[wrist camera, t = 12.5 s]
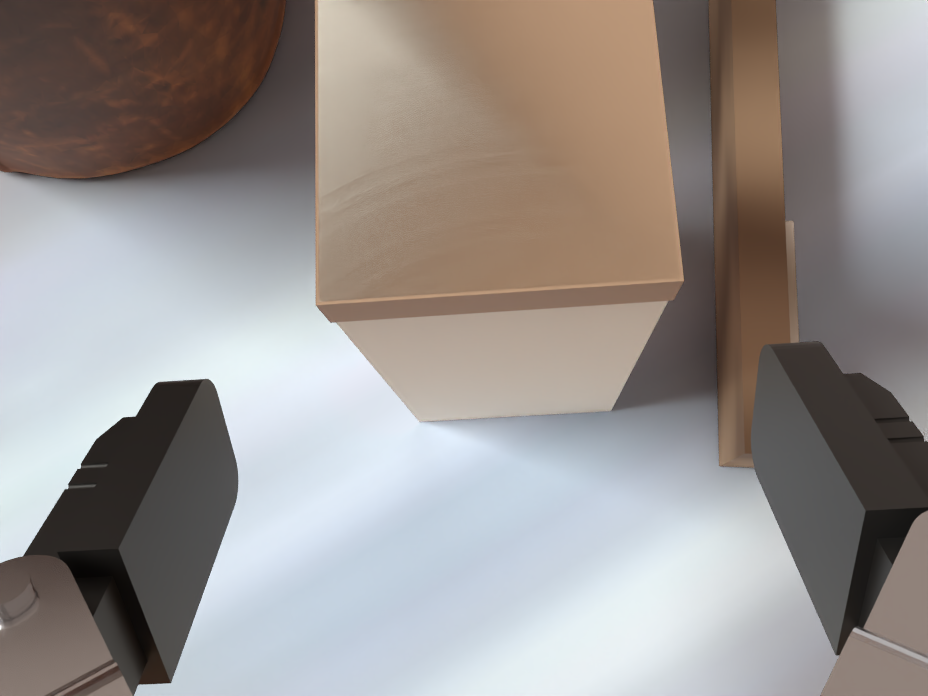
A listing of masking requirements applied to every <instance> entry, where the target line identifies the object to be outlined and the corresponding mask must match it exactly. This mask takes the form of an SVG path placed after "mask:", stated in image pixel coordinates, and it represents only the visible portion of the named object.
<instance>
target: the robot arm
mask: <svg viewBox="0 0 928 696" xmlns="http://www.w3.org/2000/svg"><path fill="white" fill-rule="evenodd" d="M923 437H924V436H923V435H922V433H921V432H920V431H919V429H918V428H917V427H916V425H915V424H914V423H913V421H911V422H910V421H909V416H908V415H907V413H906V412H905V411H904V409H903V408H902V407H901V405H900V404H899V403H898V401H897V400H896V399H895V397H894V396H893V395H892V393H891V392H889V391H888V390H886V389H885V388H883V387H881V386H880V385H878V384H877V383H875V382H874V381H872V380H871V379H869V378H867V377H866V376H864V375H863V374H861V373H855V374H843V373H842V372H841V370H840V369H839V367H838V366H837V364H836V363H835V361H834V360H833V358H832V357H831V355H830V354H829V352H828V351H827V350H826V348H825V347H824V345H823V344H822V343H821V342H818V341H812V342H797V343H781V344H767V345H764V346H763V348H762V350H761V352H760V357H759V364H758V373H757V382H756V391H755V400H754V410H753V419H752V428H751V451H752V458H753V464H754V468H755V471H756V474H757V477H758V479H759V481H760V484H761V486H762V488H763V491H764V493H765V495H766V497H767V500H768V502H769V504H770V507H771V509H772V511H773V513H774V516H775V518H776V520H777V523H778V525H779V527H780V529H781V532H782V534H783V536H784V538H785V541H786V543H787V545H788V548H789V550H790V552H791V554H792V557H793V559H794V561H795V564H796V566H797V568H798V570H799V573H800V575H801V577H802V579H803V582H804V584H805V586H806V589H807V591H808V593H809V595H810V598H811V600H812V602H813V605H814V607H815V609H816V611H817V614H818V616H819V618H820V620H821V623H822V625H823V627H824V630H825V632H826V634H827V636H828V639H829V641H830V643H831V646H832V648H833V650H834V652H835V655H840V656H839V658H838V660H837V662H836V664H835V666H834V668H833V670H832V672H831V675H830V677H829V679H828V681H827V683H826V685H825V687H824V689H823V691H822V693H821V695H820V696H928V442H927V441H925V442H924V438H923ZM68 485H69V488H68V489H65V490H64V492H63V493H62V495H61V497H60V498H59V500H58V501H57V503H56V505H55V506H54V508H53V509H52V511H51V512H50V514H49V516H48V517H47V519H46V520H45V522H44V524H43V525H42V527H41V528H40V530H39V532H38V533H37V535H36V536H35V538H34V540H33V541H32V543H31V544H30V546H29V548H28V549H27V551H26V552H25V554H24V556H23V557H18V558H14V559H11V560H8V561H5V562H2V563H0V696H134V694H135V691H136V689H137V686H138V685H140V684H162V683H171V681H172V679H173V676H174V673H175V670H176V667H177V665H178V662H179V659H180V656H181V654H182V651H183V648H184V645H185V642H186V640H187V637H188V634H189V631H190V628H191V626H192V623H193V620H194V617H195V615H196V612H197V609H198V606H199V603H200V601H201V598H202V595H203V592H204V589H205V587H206V584H207V581H208V578H209V576H210V573H211V570H212V567H213V564H214V562H215V559H216V556H217V553H218V550H219V548H220V545H221V542H222V539H223V537H224V534H225V531H226V528H227V525H228V523H229V520H230V517H231V514H232V511H233V509H234V506H235V503H236V499H237V493H238V470H237V463H236V459H235V455H234V452H233V448H232V444H231V441H230V437H229V434H228V430H227V426H226V423H225V419H224V415H223V412H222V408H221V405H220V401H219V397H218V394H217V391H216V388H215V386H214V384H213V383H212V382H211V381H210V380H209V379H199V380H184V381H168V382H158V383H156V384H155V385H154V387H153V388H152V390H151V391H150V393H149V395H148V397H147V398H146V400H145V402H144V403H143V405H142V407H141V409H140V410H139V412H138V414H137V415H136V417H123V418H122V419H121V420H120V421H118V422H117V423H116V424H115V425H113V426H112V427H111V428H110V429H109V430H107V431H106V432H105V433H104V434H102V435H101V436H100V437H99V438H98V439H96V441H95V442H94V444H93V445H92V447H91V449H90V450H89V452H88V453H87V455H86V457H85V458H84V460H83V461H82V463H81V469H77V471H76V473H75V474H74V476H73V477H72V479H71V481H70V482H69V484H68Z"/></svg>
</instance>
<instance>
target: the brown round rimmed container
mask: <svg viewBox="0 0 928 696" xmlns="http://www.w3.org/2000/svg"><path fill="white" fill-rule="evenodd" d="M285 5H286V0H0V171H3V172H15V171H16V172H24V173H29V174H34V175H40V176H46V177H55V178H92V177H100V176H107V175H113V174H117V173H122V172H126V171H130V170H133V169H137V168H141V167H144V166H147V165H151V164H154V163H157V162H159V161H162V160H165V159H167V158H170V157H172V156H175V155H177V154H179V153H182V152H184V151H186V150H188V149H190V148H192V147H194V146H195V145H197V144H199V143H200V142H202V141H204V140H205V139H207V138H208V137H210V136H211V135H212V134H214V133H215V132H216V131H217V130H219V129H220V128H221V127H223V126H224V125H225V124H226V123H227V122H229V121H230V120H231V119H232V118H233V117H234V116H235V115H236V114H237V113H238V112H239V111H240V109H241V108H242V107H243V106H244V105H245V104H246V103H247V102H248V100H249V99H250V98H251V97H252V96H253V94H254V93H255V92H256V90H257V89H258V87H259V86H260V84H261V82H262V81H263V79H264V77H265V75H266V73H267V71H268V69H269V66H270V64H271V62H272V59H273V56H274V54H275V51H276V47H277V44H278V41H279V37H280V34H281V29H282V25H283V19H284V13H285Z"/></svg>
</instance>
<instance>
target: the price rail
mask: <svg viewBox="0 0 928 696" xmlns="http://www.w3.org/2000/svg"><path fill="white" fill-rule="evenodd" d="M708 1H709V44H710V88H711V131H712V175H713V218H714V262H715V305H716V349H717V392H718V436H719V466H725V467H752V468H754V464H753V458H752V451H751V428H752V419H753V410H754V400H755V391H756V382H757V373H758V364H759V357H760V352H761V350H762V348H763V346H764V345H767V344H781V343H797V342H799V328H798V306H797V284H796V263H795V241H794V221H785V204H784V181H783V158H782V136H781V113H780V90H779V67H778V44H777V22H776V0H708Z"/></svg>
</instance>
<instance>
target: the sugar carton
mask: <svg viewBox="0 0 928 696" xmlns="http://www.w3.org/2000/svg"><path fill="white" fill-rule="evenodd" d="M315 205H316V306H317V307H318V309H319V310H320V311H321V312H322V313H323V314H324V315H325V317H326V318H327V319H328V320H329V321H330V322H331V323H332V322H336V323H337V324H338V325H339V327H340V328H341V329H342V330H343V331H344V332H345V334H346V335H347V336H348V337H349V338H350V340H351V341H352V342H353V343H354V344H355V346H356V347H357V348H358V349H359V350H360V352H361V353H362V354H363V355H364V356H365V358H366V359H367V360H368V361H369V362H370V364H371V365H372V366H373V367H374V368H375V369H376V371H377V372H378V373H379V374H380V375H381V377H382V378H383V379H384V380H385V381H386V383H387V384H388V385H389V386H390V387H391V389H392V390H393V391H394V392H395V393H396V395H397V396H398V397H399V398H400V399H401V400H402V402H403V403H404V404H405V405H406V406H407V408H408V409H409V410H410V411H411V412H412V414H413V415H414V416H415V417H416V418H417V420H418V421H419V422H426V421H444V420H462V419H480V418H497V417H515V416H533V415H550V414H568V413H586V412H604V411H611V410H612V408H613V406H614V404H615V402H616V400H617V398H618V397H619V395H620V393H621V391H622V389H623V387H624V385H625V383H626V381H627V379H628V377H629V376H630V374H631V372H632V370H633V368H634V366H635V364H636V362H637V360H638V358H639V356H640V354H641V353H642V351H643V349H644V347H645V345H646V343H647V341H648V339H649V337H650V335H651V333H652V331H653V330H654V328H655V326H656V324H657V322H658V320H659V318H660V316H661V314H662V312H663V310H664V308H665V307H666V305H667V303H668V301H673V300H674V299H675V297H676V295H677V293H678V291H679V290H680V288H681V286H682V284H683V282H684V276H683V267H682V258H681V249H680V240H679V231H678V222H677V213H676V204H675V195H674V186H673V177H672V168H671V159H670V150H669V141H668V132H667V123H666V114H665V105H664V96H663V87H662V78H661V69H660V60H659V51H658V42H657V33H656V24H655V15H654V6H653V0H315Z"/></svg>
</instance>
